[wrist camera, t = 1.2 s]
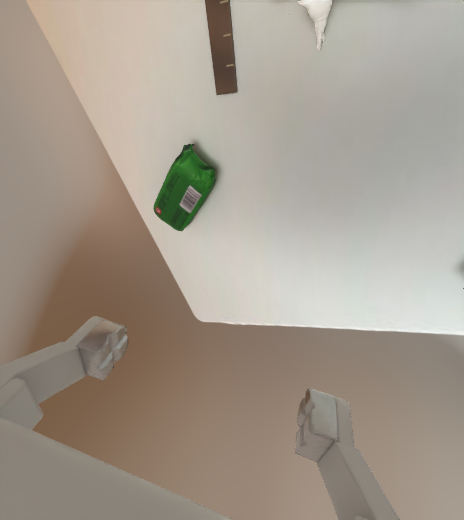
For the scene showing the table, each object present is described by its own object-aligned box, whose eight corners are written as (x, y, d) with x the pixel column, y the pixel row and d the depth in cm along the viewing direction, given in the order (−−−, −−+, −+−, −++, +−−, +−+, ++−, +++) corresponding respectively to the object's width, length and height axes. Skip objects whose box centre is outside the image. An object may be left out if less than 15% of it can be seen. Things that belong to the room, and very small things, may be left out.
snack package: (229, 167, 41) (216, 177, 38) (189, 229, 52) (174, 241, 48) (195, 137, 41) (177, 143, 37) (161, 206, 51) (144, 216, 47)
